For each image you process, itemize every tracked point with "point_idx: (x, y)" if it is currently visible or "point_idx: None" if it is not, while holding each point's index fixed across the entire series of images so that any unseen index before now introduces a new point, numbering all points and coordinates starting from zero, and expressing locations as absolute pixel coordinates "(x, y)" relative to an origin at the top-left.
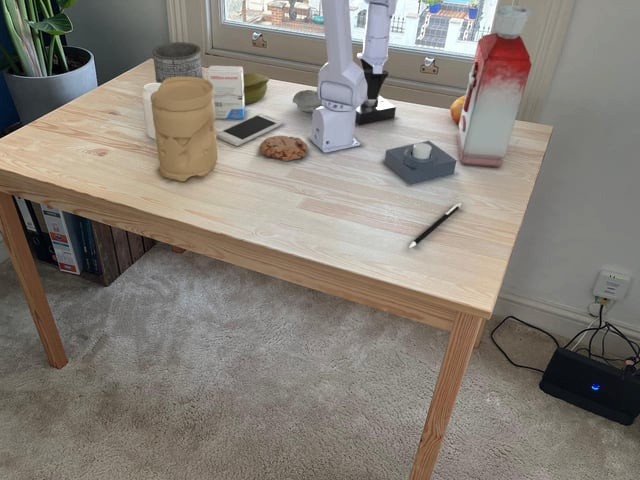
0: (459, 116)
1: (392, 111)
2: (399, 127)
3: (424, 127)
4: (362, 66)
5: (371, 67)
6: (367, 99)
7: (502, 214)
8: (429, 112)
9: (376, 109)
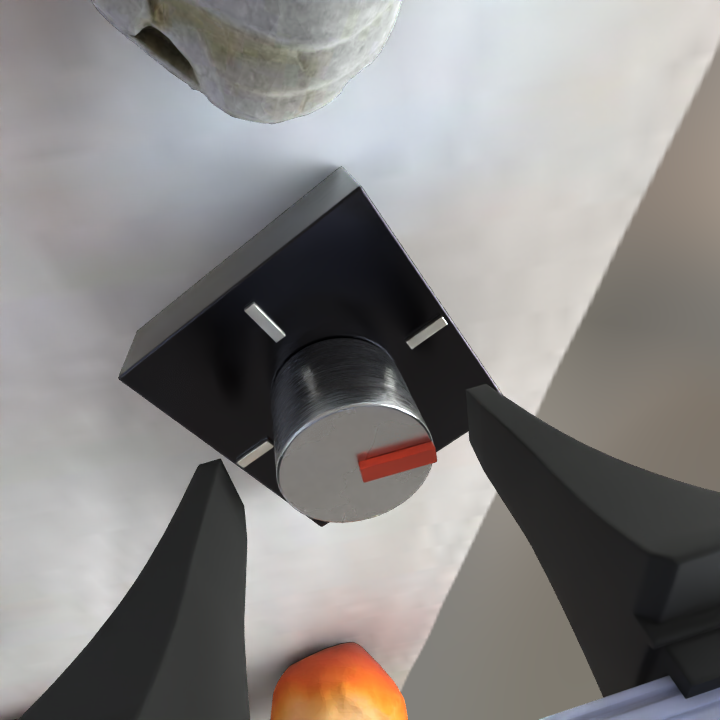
0: (276, 715)
1: None
2: None
3: (252, 583)
4: (629, 468)
5: (566, 559)
6: (273, 427)
7: None
8: (414, 565)
9: (246, 452)
